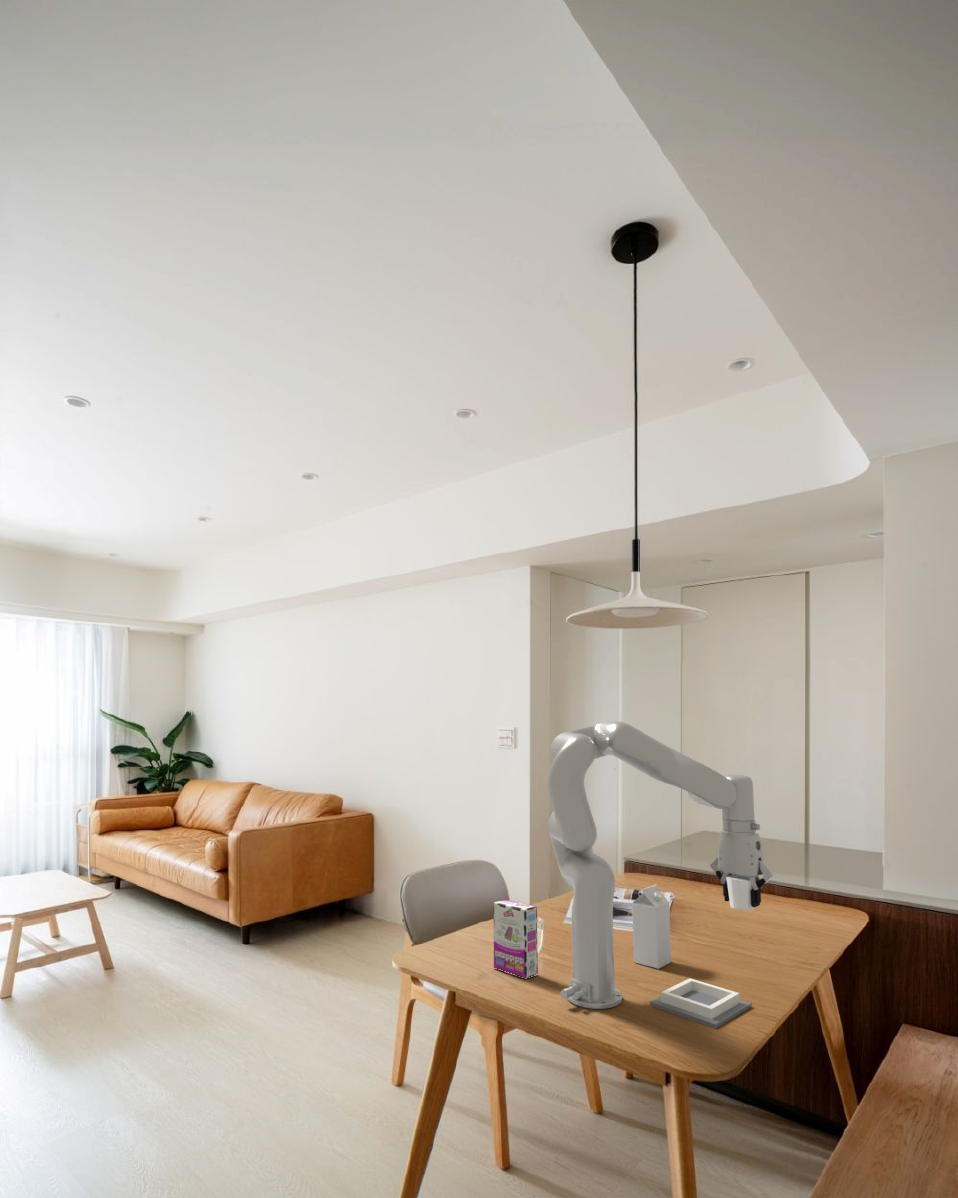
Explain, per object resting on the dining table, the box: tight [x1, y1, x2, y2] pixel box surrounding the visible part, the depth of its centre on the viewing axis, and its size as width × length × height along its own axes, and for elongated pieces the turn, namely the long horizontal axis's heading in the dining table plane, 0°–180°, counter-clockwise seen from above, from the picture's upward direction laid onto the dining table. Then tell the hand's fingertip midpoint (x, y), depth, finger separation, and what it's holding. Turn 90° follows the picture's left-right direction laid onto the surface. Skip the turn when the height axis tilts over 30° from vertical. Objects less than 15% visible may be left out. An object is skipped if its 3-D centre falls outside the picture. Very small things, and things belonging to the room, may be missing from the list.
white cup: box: [726, 874, 756, 911], centre depth 174 cm, size 7×7×7 cm
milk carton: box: [631, 884, 672, 970], centre depth 189 cm, size 7×7×19 cm
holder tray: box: [649, 978, 753, 1029], centre depth 160 cm, size 16×16×3 cm
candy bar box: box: [493, 899, 539, 979], centre depth 182 cm, size 11×5×16 cm, turn 46°
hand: (742, 902), depth 174 cm, fingers closed on white cup, 6 cm apart
